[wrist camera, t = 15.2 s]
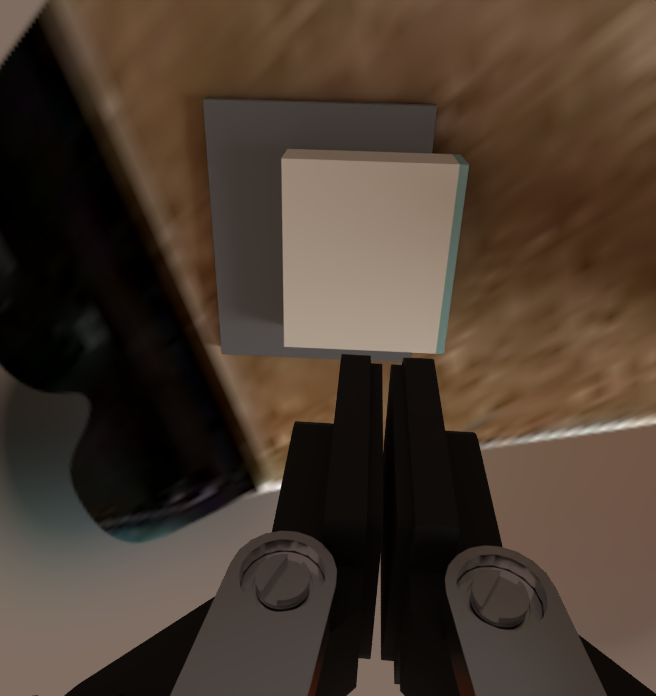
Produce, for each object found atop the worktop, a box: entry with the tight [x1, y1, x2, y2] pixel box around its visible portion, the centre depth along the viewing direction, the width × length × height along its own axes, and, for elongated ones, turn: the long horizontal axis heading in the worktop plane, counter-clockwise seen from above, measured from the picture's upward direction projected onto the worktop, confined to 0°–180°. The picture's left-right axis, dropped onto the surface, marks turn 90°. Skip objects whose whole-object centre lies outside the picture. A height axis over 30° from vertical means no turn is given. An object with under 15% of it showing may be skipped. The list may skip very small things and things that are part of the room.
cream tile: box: [281, 149, 469, 354], centre depth 21 cm, size 7×2×6 cm
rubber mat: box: [203, 98, 437, 362], centre depth 23 cm, size 8×10×1 cm
